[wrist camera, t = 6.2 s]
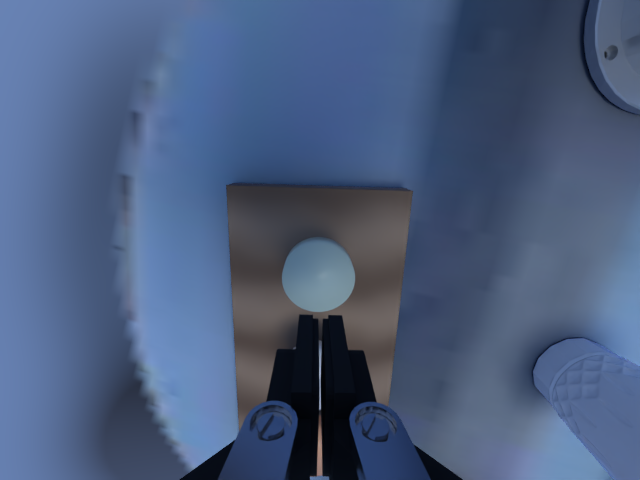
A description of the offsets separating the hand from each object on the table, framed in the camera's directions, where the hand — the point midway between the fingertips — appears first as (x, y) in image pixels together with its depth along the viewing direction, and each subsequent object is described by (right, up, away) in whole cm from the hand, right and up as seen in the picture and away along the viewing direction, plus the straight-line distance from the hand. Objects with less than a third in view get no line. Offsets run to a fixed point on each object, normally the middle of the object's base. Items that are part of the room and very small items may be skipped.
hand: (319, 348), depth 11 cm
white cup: (+23, -8, +16) cm, 29 cm away
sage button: (0, +3, +9) cm, 10 cm away
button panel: (0, -4, +14) cm, 15 cm away
